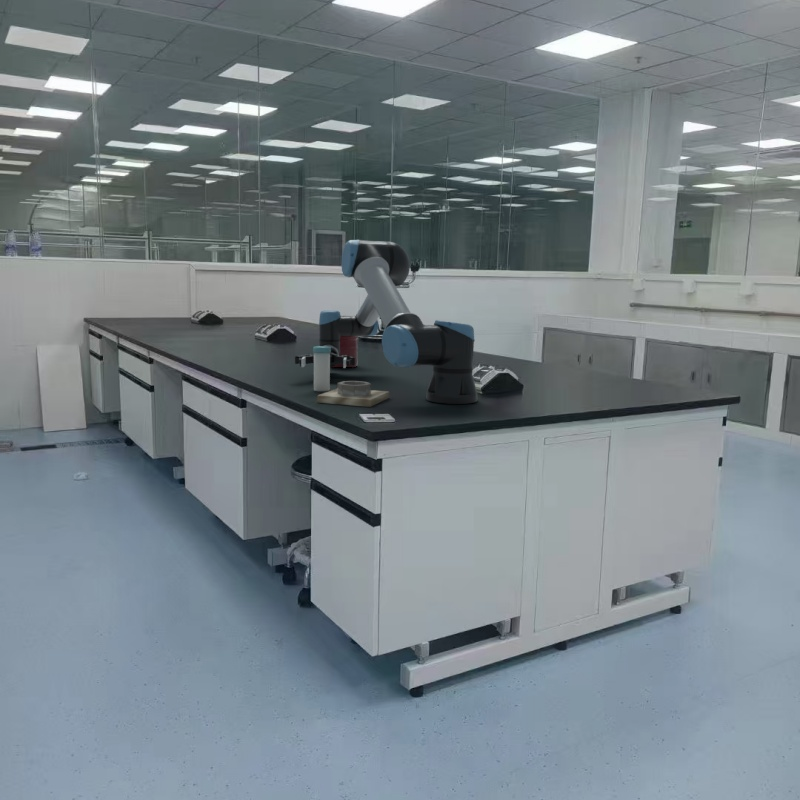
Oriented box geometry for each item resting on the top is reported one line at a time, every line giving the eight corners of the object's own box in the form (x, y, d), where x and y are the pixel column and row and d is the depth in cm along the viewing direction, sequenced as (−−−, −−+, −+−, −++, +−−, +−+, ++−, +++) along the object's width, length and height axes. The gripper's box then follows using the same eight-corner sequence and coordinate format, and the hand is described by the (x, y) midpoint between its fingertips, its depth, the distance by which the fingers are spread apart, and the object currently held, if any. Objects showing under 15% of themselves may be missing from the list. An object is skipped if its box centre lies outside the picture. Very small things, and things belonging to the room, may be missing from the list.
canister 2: (353, 368, 277) (354, 323, 274) (321, 367, 279) (321, 322, 276) (360, 365, 290) (361, 321, 287) (329, 363, 292) (330, 320, 289)
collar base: (388, 398, 211) (389, 381, 210) (370, 406, 196) (370, 388, 195) (339, 394, 216) (339, 378, 215) (317, 402, 201) (317, 384, 200)
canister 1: (332, 389, 225) (333, 346, 222) (326, 392, 220) (326, 348, 217) (317, 388, 226) (317, 345, 224) (310, 390, 221) (310, 347, 219)
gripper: (362, 367, 253) (361, 375, 232) (292, 366, 252) (285, 374, 231) (363, 346, 251) (362, 352, 230) (292, 345, 250) (284, 351, 229)
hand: (323, 363), depth 230 cm, fingers open, 13 cm apart
